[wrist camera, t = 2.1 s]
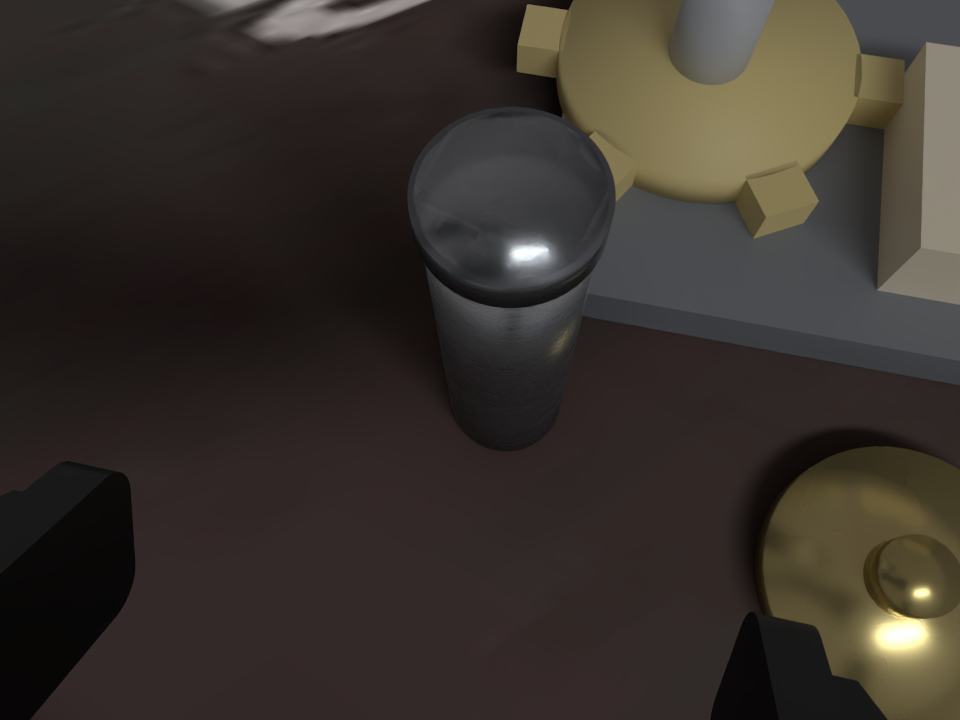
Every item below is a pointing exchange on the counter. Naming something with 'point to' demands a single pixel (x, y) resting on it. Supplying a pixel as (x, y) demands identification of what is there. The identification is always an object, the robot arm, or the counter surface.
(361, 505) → the counter surface
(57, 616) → the robot arm
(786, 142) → the gear board
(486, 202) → the grey cylinder peg
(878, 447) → the brass knob disc
